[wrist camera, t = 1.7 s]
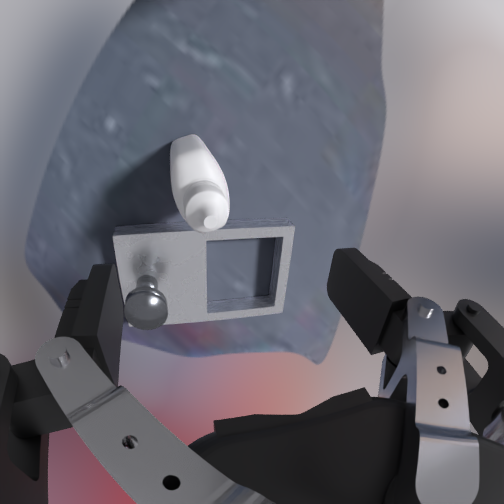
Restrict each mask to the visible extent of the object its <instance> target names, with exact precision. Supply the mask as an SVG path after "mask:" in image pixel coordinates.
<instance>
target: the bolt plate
mask: <svg viewBox="0 0 504 504" xmlns="http://www.w3.org/2000/svg"><path fill="white" fill-rule="evenodd" d="M294 230H295V226H294V224H293V223H292V222H291V221H290V220H289V219H288V218H262V219H236V220H227V222H226V224H225V225H224V226H223V227H221V228H219V229H217V230H214V231H212V232H207V233H198V232H196V231H195V230H194V229H193V228H192V227H191V226H190V225H189V224H188V223H187V222H174V223H157V224H141V225H127V226H116V227H115V230H114V233H113V242H114V249H115V255H116V261H117V267H118V273H119V279H120V284H121V289H122V295H123V300H124V304H125V307H124V315H125V318H126V320H127V321H128V323H129V327H132V326H134V327H136V328H138V329H142V330H152V329H156V328H158V327H160V326H162V325H164V324H178V323H190V322H202V321H212V320H223V319H232V318H242V317H251V316H259V315H268V314H276V313H282V312H283V305H284V299H285V293H286V286H287V279H288V273H289V266H290V259H291V252H292V245H293V238H294ZM266 237H275V246H274V255H273V264H272V273H271V282H270V290H269V295H266V296H256V297H246V298H236V299H225V300H214V301H207V283H206V241H211V240H229V239H247V238H266Z"/></svg>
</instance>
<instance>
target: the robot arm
mask: <svg viewBox="0 0 504 504" xmlns="http://www.w3.org/2000/svg"><path fill="white" fill-rule="evenodd" d="M327 292H328V296H329V298H330V300H331V301H332V302H333V304H334V305H335V306H336V308H337V309H338V310H339V312H340V313H341V314H342V316H343V317H344V318H345V320H346V321H347V322H348V324H349V325H350V327H351V328H352V329H353V331H354V332H355V333H356V335H357V336H358V337H359V339H360V340H361V342H362V343H363V344H364V346H365V347H366V348H367V350H368V351H369V353H370V354H371V355H373V354H376V353H380V352H383V351H384V352H385V356H384V359H383V361H382V369H381V377H380V385H379V392H378V397H370V395H369V393H368V392H367V390H366V389H365V388H361V389H357V390H354V391H351V392H348V393H344V394H341V395H337V396H334V397H332V398H330V399H328V400H326V401H324V402H323V403H321V404H319V405H317V406H315V407H313V408H311V409H310V410H308V411H306V412H304V413H301V414H298V415H263V414H254V415H248V416H242V417H236V418H229V419H223V420H214V432H213V433H210V434H208V435H205V436H203V437H201V438H199V439H197V440H196V441H194V442H193V443H191V444H190V445H188V446H187V445H185V444H184V443H183V442H182V441H181V440H179V439H178V438H177V437H176V436H175V435H174V434H173V433H171V432H170V431H169V430H168V429H167V428H166V427H165V426H164V425H163V424H162V423H160V422H159V421H158V420H157V419H156V418H155V417H154V416H153V415H152V414H151V413H150V412H149V411H148V410H147V409H146V408H145V407H144V406H143V405H142V404H141V403H140V402H139V401H138V400H137V399H136V398H135V397H134V396H133V395H132V394H131V393H130V392H129V391H128V390H127V389H126V388H124V387H123V386H119V387H118V377H119V361H120V348H121V347H120V346H121V337H122V327H123V317H124V314H123V303H122V297H121V292H120V287H119V282H118V276H117V271H116V266H115V264H114V263H111V264H95V265H93V266H92V269H91V272H90V275H89V278H88V280H80V281H79V282H78V283H77V284H76V285H75V286H74V287H73V288H72V289H71V291H70V294H69V297H68V301H67V302H66V305H65V310H63V313H62V316H61V319H60V322H59V325H58V328H57V331H56V335H55V338H53V339H51V340H49V341H47V342H45V343H44V344H43V345H42V346H41V347H40V348H39V350H38V351H37V353H36V357H35V359H34V360H31V361H28V362H24V363H20V364H16V365H12V366H11V364H10V363H9V361H8V359H7V358H6V357H5V356H4V355H2V354H0V504H48V446H49V433H51V432H55V431H59V430H63V429H67V428H71V427H74V429H75V430H76V431H77V433H78V434H79V436H80V437H81V438H82V439H83V441H84V442H85V444H86V445H87V446H88V447H89V449H90V450H91V451H92V453H93V454H94V455H95V457H96V458H97V459H98V461H99V462H100V463H101V464H102V465H103V467H104V468H105V469H106V470H107V471H108V472H109V474H110V475H111V476H112V477H113V478H114V480H115V481H116V482H117V483H118V484H119V485H120V486H121V487H122V488H123V490H124V491H125V492H126V493H127V494H128V495H129V496H130V497H131V498H132V499H133V500H134V501H135V502H136V503H137V504H504V328H503V327H502V326H501V325H500V324H499V323H498V322H497V321H496V320H495V319H494V318H493V317H492V316H491V315H490V314H489V313H488V312H487V311H486V310H485V309H484V308H483V307H482V306H481V305H479V304H478V303H476V302H474V301H471V300H468V299H463V300H460V301H459V302H458V303H457V305H456V308H455V310H454V311H442V309H441V307H440V306H439V305H438V304H436V303H435V302H434V301H432V300H430V299H428V298H425V297H411V296H410V295H409V294H408V293H407V292H406V291H405V290H404V289H403V288H402V287H401V286H400V285H399V284H398V283H396V282H395V281H394V280H392V278H391V277H390V276H389V275H388V274H386V273H385V271H384V270H383V269H382V268H381V267H379V266H378V265H377V264H375V263H373V262H371V261H370V260H368V259H367V258H366V257H365V256H364V255H363V254H362V253H361V252H360V251H359V250H357V249H356V248H342V249H337V250H335V252H334V254H333V259H332V264H331V268H330V273H329V278H328V282H327ZM473 344H474V345H475V346H476V347H477V348H478V349H479V351H480V352H481V353H482V354H483V355H484V356H485V358H486V359H487V361H488V370H487V372H486V374H485V375H484V377H483V378H481V377H480V376H479V375H478V373H477V372H476V371H475V370H474V368H473V367H472V366H471V365H470V363H469V362H468V361H467V360H466V359H465V357H466V356H467V354H468V353H469V351H470V349H471V348H472V346H473ZM470 422H471V423H472V425H473V427H474V428H475V430H476V431H477V432H478V434H479V435H477V434H475V433H472V432H471V431H470Z"/></svg>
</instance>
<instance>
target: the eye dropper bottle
mask: <svg viewBox="0 0 504 504" xmlns="http://www.w3.org/2000/svg"><path fill="white" fill-rule="evenodd" d="M170 173H171V186H172V192H173V196H174V200H175V203H176V205H177V208H178V210H179V212H180V213H181V215H182V217H183V218H184V220H185V221H186V222H187V223H188V224H189V225H190V226H191V227H192V228H193V229H194V230H195V231H196V232H198V233H207V232H212V231H214V230H217V229H219V228H221V227H223V226H224V225H225V224H226V222H227V219H228V216H229V211H230V210H229V209H230V208H229V192H228V187H227V183H226V180H225V177H224V175H223V173H222V170H221V169H220V167H219V165H218V163H217V162H216V160H215V158H214V157H213V156H212V154H211V153H210V151H209V150H208V148H207V147H206V146H205V144H204V143H203V141H202V140H201V139H200V138H199V137H198V136H197V135H188V136H185V137H181V138H178V139H176V140H174V141H173V142H172V144H171V150H170Z"/></svg>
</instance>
